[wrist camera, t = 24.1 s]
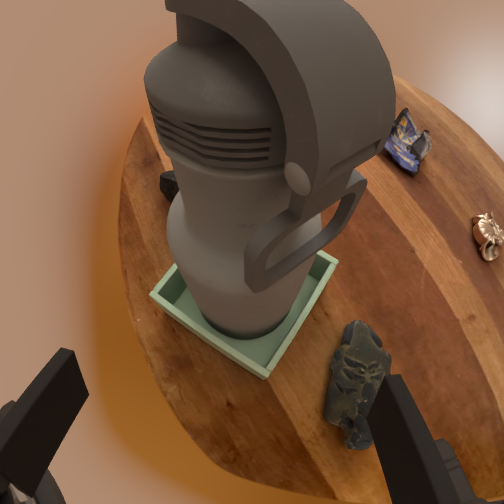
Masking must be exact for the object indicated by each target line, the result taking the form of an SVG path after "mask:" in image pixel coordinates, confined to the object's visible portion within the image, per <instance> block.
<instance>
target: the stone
mask: <svg viewBox="0 0 504 504" xmlns="http://www.w3.org/2000/svg"><path fill="white" fill-rule="evenodd" d="M390 366H391V356H390V354H389V353H387V352H386V351H385V350H384V349H383V348H382V342H381V340H380V338H379V337H378V336H377V335H376V334H375V333H374V332H373V331H372V329H371V328H370V327H369V326H368V325H366V324H365V323H364V322H362V321H361V320H355V321H353V322H351V323H350V324H348V325H347V327H346V328H345V331H344V334H343V338H342V343H341V347H340V348H339V349H338V350H337V351H336V352H335V353H334V357H333V359H332V362H331V365H330V369H329V370H330V371H331V375H332V379H331V382H330V384H329V387H328V390H327V395H326V400H325V408H324V418H325V419H326V421H328V422H329V423H330V424H332V425H336V426H338V427H341V428H342V430H343V432H344V434H345V438H344V440H343V441H344V444H345V447H347V448H348V449H355V450H365V449H368V448H369V447H370V446H371V444H372V443H373V442H374V441H373V438H372V435H371V432H370V429H369V426H368V423H367V420H366V417H367V415H368V413H369V410H370V408H371V406H372V404H373V402H374V399H375V397H376V395H377V392H378V390H379V387H380V385H381V383H382V380H383V378H384V376H385V375H390Z"/></svg>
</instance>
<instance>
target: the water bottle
mask: <svg viewBox="0 0 504 504" xmlns="http://www.w3.org/2000/svg"><path fill="white" fill-rule="evenodd" d="M165 6H166V9H167V10H168V11H171V12H175V13H176V23H177V41H176V42H174V43H173V44H171V45H170V46H168V47H167V48H165V49H164V50H162V51H161V52H160V53H158V54H157V56H155V57H154V58H153V59H152V61H151V62H150V63H149V65H148V66H147V69H146V72H145V75H144V83H145V89H146V93H147V98H148V101H149V105H150V109H151V113H152V116H153V120H154V123H155V128H156V131H157V135H158V139H159V143H160V145H161V146H162V148H163V150H164V151H165V153H166V155H168V156H169V157H170V158H171V162H172V165H173V169H174V173H175V176H176V180H177V183H178V187H179V192H178V193H177V195H176V196H175V198H174V200H173V202H172V204H171V206H170V209H169V213H168V218H167V240H168V244H169V248H170V252H171V255H172V257H173V259H174V261H175V263H176V265H177V267H178V269H179V271H180V273H181V275H182V277H183V279H184V281H185V283H186V285H187V287H188V289H189V291H190V293H191V295H192V296H193V298H194V300H195V302H196V304H197V306H198V308H199V310H200V311H201V313H202V315H203V317H204V318H205V320H206V321H207V322H208V323H209V324H210V326H211V327H213V328H214V329H215V330H217V331H218V332H219V333H221V334H224V335H226V336H228V337H232V338H236V339H254V338H259V337H261V336H264V335H267V334H269V333H270V332H272V331H273V330H275V329H276V328H277V327H278V326H279V325H280V324H282V322H283V321H284V320H285V318H286V317H287V315H288V313H289V311H290V309H291V307H292V305H293V303H294V301H295V299H296V297H297V295H298V293H299V291H300V289H301V287H302V285H303V283H304V281H305V279H306V277H307V275H308V273H309V270H310V268H311V266H312V264H313V262H314V260H315V257H316V254H317V252H318V251H319V250H321V249H322V248H323V247H325V246H326V245H327V244H329V243H330V242H331V241H332V240H333V239H334V238H336V237H337V235H338V234H339V233H340V232H341V231H342V230H343V229H344V228H345V226H346V225H347V223H348V222H349V220H350V218H351V216H352V214H353V212H354V210H355V208H356V206H357V204H358V202H359V200H360V198H361V196H362V194H363V192H364V190H365V188H366V186H367V179H366V178H364V177H363V176H362V175H361V174H360V173H359V172H358V171H357V170H354V168H356V167H357V166H359V165H360V164H362V163H364V162H365V161H367V160H369V159H370V158H372V157H373V156H375V155H377V154H378V153H380V152H381V151H382V150H383V148H384V146H385V144H386V142H387V139H388V137H389V135H390V132H391V129H392V126H393V123H394V120H395V103H396V91H395V86H394V81H393V76H392V73H391V68H390V64H389V61H388V59H387V57H386V54H385V52H384V50H383V48H382V46H381V44H380V42H379V40H378V38H377V36H376V34H375V33H374V31H373V30H372V29H371V27H370V26H369V25H368V24H367V22H366V21H365V20H364V18H363V17H362V16H361V15H360V14H359V12H358V11H356V10H355V9H354V8H353V7H351V6H350V5H349V4H348V3H346V2H345V1H344V0H165ZM341 198H342V199H341ZM339 199H341V201H340V204H339V206H338V208H337V211H336V213H335V215H334V217H333V218H332V220H331V221H330V222H329V223H328V225H327V226H326V227H325V228H324V229H323V230H322V225H321V215H320V212H322V211H323V210H325V209H326V208H328V207H329V206H331V205H332V204H334V203H335V202H336V201H338V200H339Z"/></svg>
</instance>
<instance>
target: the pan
mask: <svg viewBox="0 0 504 504" xmlns="http://www.w3.org/2000/svg"><path fill="white" fill-rule="evenodd" d="M338 262H339V260H337V259H335V258H333V257H332V256H330V255H328V254H327V253H325V252H323V251H322V250H319V251H318V252H317V254H316V257H315V260H314V262H313V264H312V266H311V268H310V270H309V273H308V275H307V277H306V279H305V281H304V283H303V285H302V287H301V289H300V291H299V293H298V295H297V297H296V299H295V301H294V303H293V305H292V307H291V309H290V311H289V313H288V315H287V317H286V318H285V320H284V321H283V322H282V324H280V325H279V326H278V327H277V328H276V329H275V330H273V331H272V332H270V333H269V334H267V335H264V336H261V337H259V338H254V339H236V338H232V337H228V336H226V335H224V334H221V333H219V332H218V331H217V330H215V329H214V328H213V327H211V326H210V324H209V323H208V322H207V321H206V320H205V318H204V317H203V315H202V313H201V311H200V310H199V308H198V306H197V304H196V302H195V300H194V298H193V296H192V295H191V293H190V291H189V289H188V287H187V285H186V283H185V281H184V279H183V277H182V275H181V273H180V271H179V269H178V267H177V265H176V263H174V264H173V265H172V267H171V268H170V269H169V270H168V272H167V273H166V274H165V275H164V277H163V278H162V279H161V280H160V281H159V283H158V284H157V285H156V286H155V288H154V289H153V290H152V291H151V293H150V294H149V296H150V297H151V298H152V299H153V300H154V301H155V302H156V303H157V304H158V306H159V307H160V308H161V309H162V310H163V311H164V312H165V313H167V314H168V315H169V316H171V317H172V318H173V319H175V320H176V321H177V322H179V323H180V324H181V325H183V326H184V327H185V328H187V329H188V330H189V331H191V332H192V333H194V334H195V335H196V336H198V337H199V338H201V339H202V340H203V341H205V342H206V343H208V344H209V345H211V346H212V347H213V348H215V349H216V350H218V351H219V352H221V353H222V354H224V355H225V356H227V357H228V358H230V359H231V360H233V361H234V362H236V363H237V364H239V365H240V366H242V367H243V368H245V369H246V370H248V371H249V372H251V373H253V374H254V375H256V376H257V377H259V378H261V379H262V380H265V379H266V378H268V376H269V375H270V373H271V372H272V370H273V369H274V367H275V366H276V364H277V363H278V361H279V360H280V358H281V357H282V355H283V354H284V352H285V351H286V349H287V348H288V346H289V344H290V343H291V341H292V340H293V338H294V337H295V335H296V333H297V332H298V330H299V329H300V327H301V325H302V324H303V322H304V320H305V319H306V317H307V316H308V314H309V312H310V311H311V309H312V307H313V306H314V304H315V302H316V301H317V299H318V297H319V295H320V294H321V292H322V290H323V289H324V287H325V285H326V283H327V282H328V280H329V278H330V276H331V275H332V273H333V271H334V269H335V268H336V266H337V264H338Z"/></svg>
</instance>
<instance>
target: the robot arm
mask: <svg viewBox="0 0 504 504" xmlns="http://www.w3.org/2000/svg"><path fill="white" fill-rule="evenodd" d="M88 396H89V393H88V390H87V388H86V385H85V382H84V380H83V377H82V374H81V371H80V368H79V365H78V362H77V359H76V356H75V353H74V351H73V350H69V349H65V348H60V349H59V350H58V352H57V353H56V354H55V355H54V356H53V357H52V358H51V359H50V361H49V362H48V363H47V364H46V366H45V367H44V368H43V369H42V370H41V371H40V373H39V374H38V375H37V376H36V378H35V379H34V380H33V381H32V383H31V384H30V385H29V386H28V387H27V389H26V390H25V391H24V393H23V394H22V395H21V396H20V398H19V399H18V400H17V402H15V401H13V400H12V401H10V402H9V403H7V404H5V405H4V406H3V407H2V408H1V409H0V504H39V501H38V499H37V496H36V494H35V492H36V490H37V488H38V486H39V484H40V482H41V480H42V478H43V476H44V474H45V472H46V470H47V468H48V466H49V464H50V462H51V461H52V459H53V457H54V455H55V453H56V451H57V449H58V448H59V446H60V444H61V442H62V441H63V438H64V437H65V435H66V433H67V432H68V430H69V428H70V426H71V425H72V423H73V421H74V420H75V418H76V416H77V414H78V413H79V411H80V409H81V408H82V406H83V404H84V403H85V401H86V399H87V398H88ZM366 420H367V423H368V426H369V429H370V432H371V435H372V438H373V441H374V444H375V447H376V450H377V453H378V457H379V460H380V463H381V466H382V470H383V473H384V476H385V479H386V483H387V486H388V490H389V493H390V497H391V500H392V504H504V500H501V501H494V502H487V501H486V500H484V499H482V498H477V497H476V496H475V494H474V492H473V490H472V488H471V486H470V483H469V481H468V479H467V477H466V475H465V472H464V470H463V468H462V466H460V465H461V464H460V462H459V460H458V459H457V456H456V454H455V452H454V450H453V448H452V446H451V445H450V444H449V443H448V442H447V441H445V440H444V439H443V438H442V439H439V440H435V441H434V440H433V438H432V436H431V433H430V431H429V429H428V427H427V425H426V423H425V421H424V419H423V417H422V415H421V413H420V411H419V409H418V407H417V405H416V404H415V402H414V400H413V398H412V396H411V394H410V392H409V390H408V388H407V386H406V384H405V383H404V381H403V379H402V377H401V375H400V374H396V375H385V376H384V378H383V380H382V383H381V385H380V387H379V390H378V392H377V395H376V397H375V399H374V402H373V404H372V406H371V408H370V410H369V413H368V415H367V417H366Z"/></svg>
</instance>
